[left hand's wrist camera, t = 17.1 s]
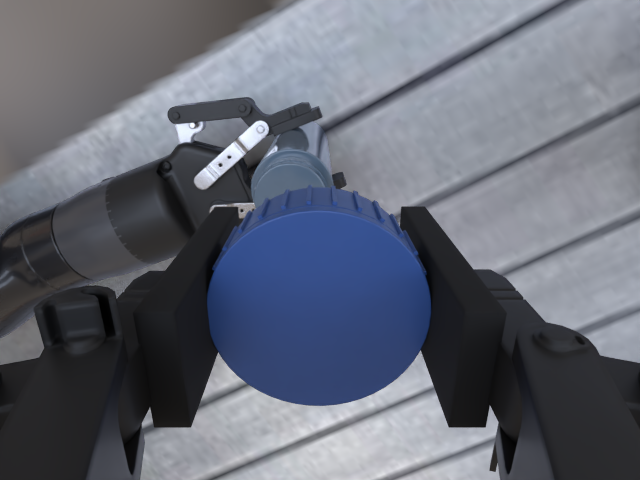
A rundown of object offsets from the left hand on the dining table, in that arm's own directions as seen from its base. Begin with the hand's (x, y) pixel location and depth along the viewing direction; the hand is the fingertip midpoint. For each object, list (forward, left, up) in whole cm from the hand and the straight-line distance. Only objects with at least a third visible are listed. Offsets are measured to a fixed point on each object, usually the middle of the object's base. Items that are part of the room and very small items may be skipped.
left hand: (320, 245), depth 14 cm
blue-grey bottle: (+1, +1, -26) cm, 26 cm away
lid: (0, 0, +4) cm, 4 cm away
